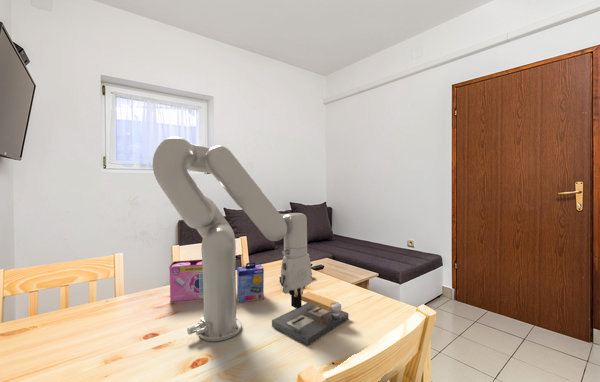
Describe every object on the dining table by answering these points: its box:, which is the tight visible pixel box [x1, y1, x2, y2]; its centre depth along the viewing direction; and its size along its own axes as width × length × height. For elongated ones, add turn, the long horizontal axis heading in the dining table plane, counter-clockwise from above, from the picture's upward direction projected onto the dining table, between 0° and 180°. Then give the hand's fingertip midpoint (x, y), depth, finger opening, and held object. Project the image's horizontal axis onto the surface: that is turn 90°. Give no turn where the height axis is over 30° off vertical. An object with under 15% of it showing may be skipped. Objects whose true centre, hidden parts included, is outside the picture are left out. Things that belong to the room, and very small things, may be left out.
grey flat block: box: [271, 302, 349, 347], centre depth 87 cm, size 20×15×4 cm
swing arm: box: [301, 291, 342, 313], centre depth 90 cm, size 4×15×2 cm, turn 47°
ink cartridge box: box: [236, 261, 265, 303], centre depth 106 cm, size 10×6×14 cm, turn 111°
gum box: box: [168, 259, 203, 302], centre depth 109 cm, size 24×8×14 cm, turn 103°
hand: (296, 306), depth 89 cm, fingers closed
